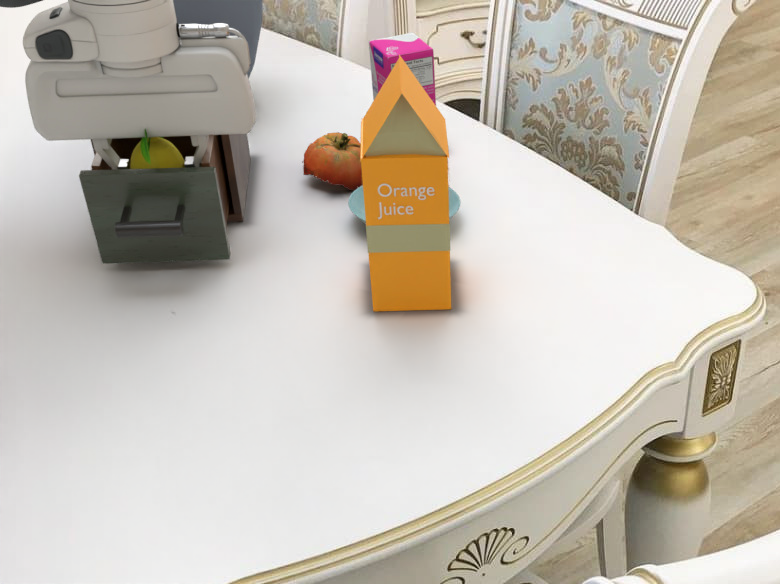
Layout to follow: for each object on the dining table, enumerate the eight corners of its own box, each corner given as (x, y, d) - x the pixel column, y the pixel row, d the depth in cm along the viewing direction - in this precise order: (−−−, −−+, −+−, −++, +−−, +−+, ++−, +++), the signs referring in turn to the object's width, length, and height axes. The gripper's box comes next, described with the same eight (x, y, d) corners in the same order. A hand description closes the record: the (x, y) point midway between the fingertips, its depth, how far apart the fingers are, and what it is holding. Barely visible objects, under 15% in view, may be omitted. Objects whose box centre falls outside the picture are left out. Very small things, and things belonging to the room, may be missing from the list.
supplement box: (374, 142, 132) (367, 38, 124) (419, 133, 134) (415, 31, 126) (393, 161, 129) (387, 55, 120) (439, 151, 131) (436, 47, 122)
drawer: (226, 284, 107) (210, 195, 100) (94, 289, 106) (70, 199, 99) (238, 194, 120) (224, 110, 114) (121, 198, 119) (101, 113, 113)
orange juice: (371, 311, 106) (353, 92, 91) (371, 266, 112) (355, 53, 97) (453, 309, 106) (448, 91, 92) (449, 264, 112) (444, 52, 98)
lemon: (166, 234, 108) (142, 128, 101) (123, 220, 110) (96, 116, 103) (214, 209, 112) (193, 105, 105) (171, 196, 114) (148, 94, 107)
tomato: (329, 189, 120) (307, 122, 119) (304, 214, 125) (282, 150, 125) (391, 182, 124) (370, 117, 123) (363, 206, 130) (343, 144, 129)
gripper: (246, 11, 102) (269, 162, 112) (17, 16, 100) (60, 169, 110) (242, 34, 97) (266, 189, 107) (2, 41, 95) (49, 198, 105)
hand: (160, 179), depth 108 cm, fingers closed on lemon, 6 cm apart
